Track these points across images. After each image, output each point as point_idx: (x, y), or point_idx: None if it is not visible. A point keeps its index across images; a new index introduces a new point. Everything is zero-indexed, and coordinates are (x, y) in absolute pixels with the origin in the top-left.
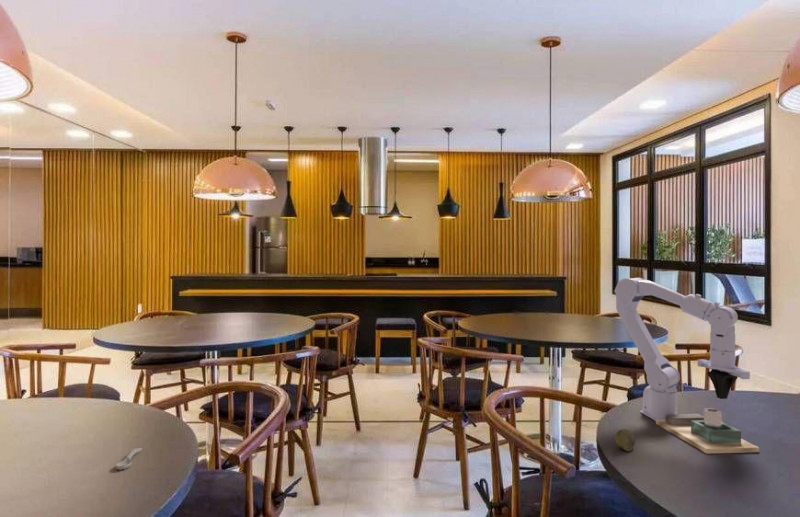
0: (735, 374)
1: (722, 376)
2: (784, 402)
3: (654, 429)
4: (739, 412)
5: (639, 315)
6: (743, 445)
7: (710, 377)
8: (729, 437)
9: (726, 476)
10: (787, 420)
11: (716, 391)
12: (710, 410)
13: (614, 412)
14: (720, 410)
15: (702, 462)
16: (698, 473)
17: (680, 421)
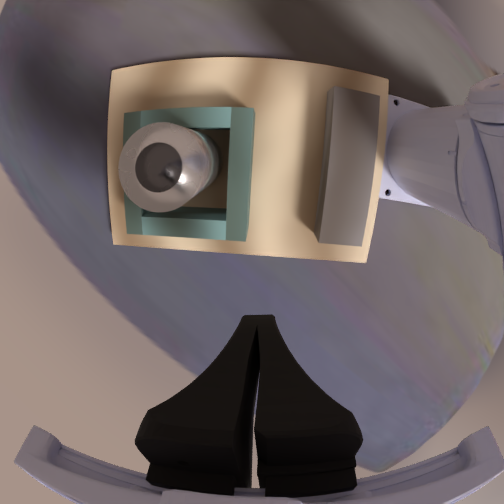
0: (102, 473)
1: (140, 430)
2: (366, 461)
3: (330, 36)
4: (374, 398)
5: None
6: (124, 209)
7: (315, 398)
8: None
9: (35, 63)
10: None
11: (268, 333)
12: (152, 152)
13: (471, 52)
14: (147, 210)
15: (84, 39)
16: (56, 15)
17: (328, 123)
